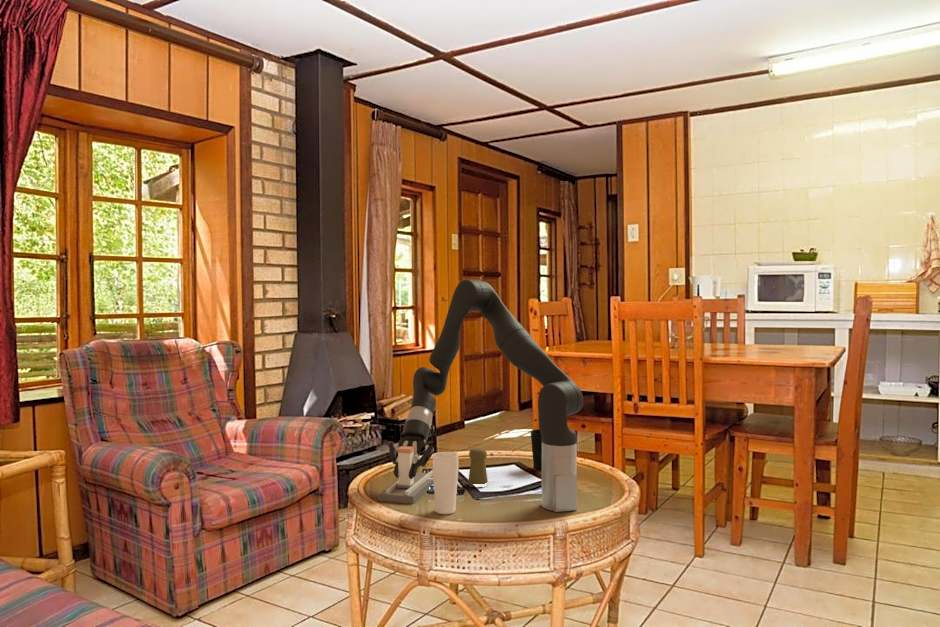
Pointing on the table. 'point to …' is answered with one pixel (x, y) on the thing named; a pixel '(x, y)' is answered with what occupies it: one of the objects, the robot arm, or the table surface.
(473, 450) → the cork
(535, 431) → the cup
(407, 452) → the fader tab
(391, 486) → the fader board
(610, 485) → the table surface
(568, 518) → the table surface
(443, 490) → the drinking glass
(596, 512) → the table surface
